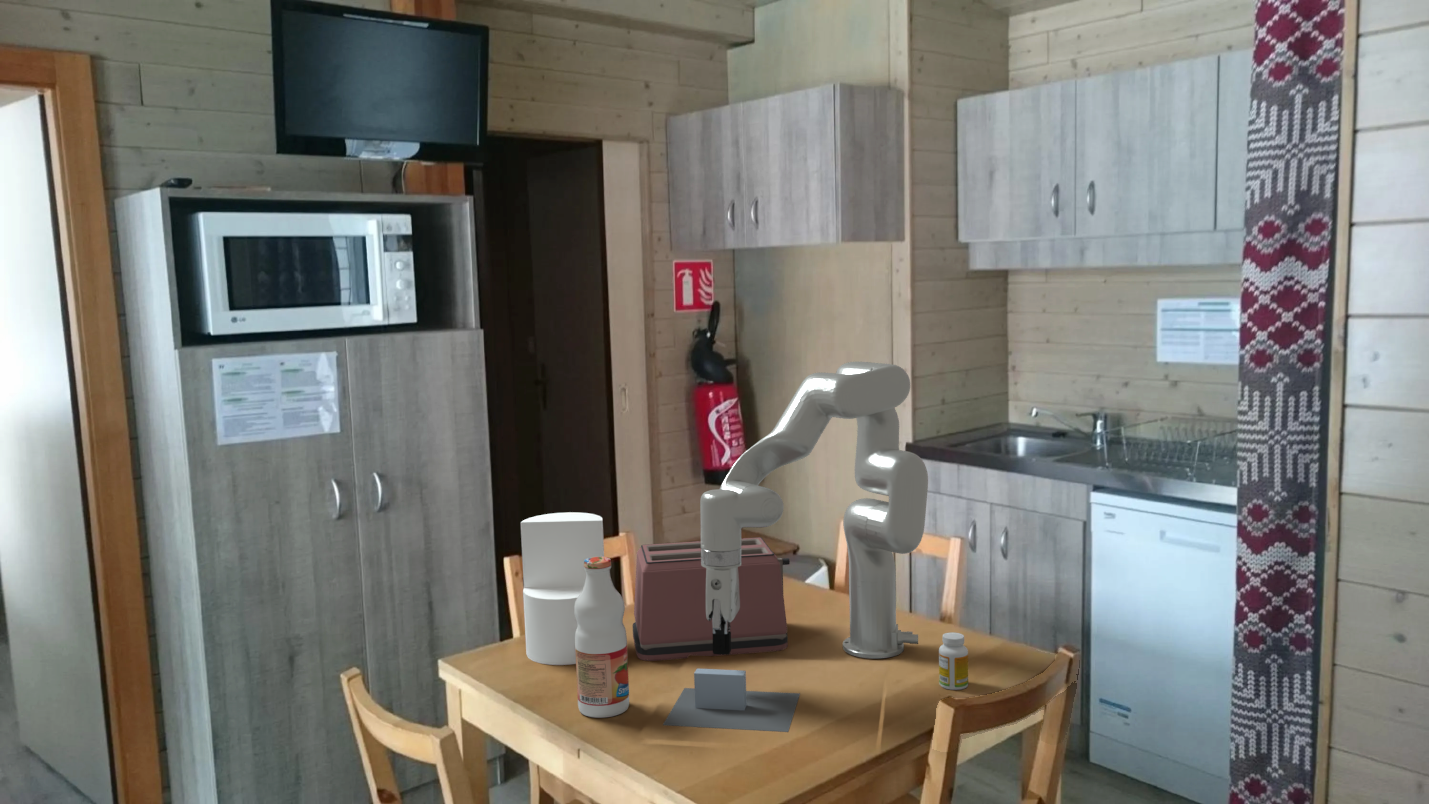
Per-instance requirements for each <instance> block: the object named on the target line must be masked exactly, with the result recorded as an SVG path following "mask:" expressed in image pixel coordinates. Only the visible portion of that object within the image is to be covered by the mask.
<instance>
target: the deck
mask: <svg viewBox="0 0 1429 804" xmlns="http://www.w3.org/2000/svg"><path fill="white" fill-rule="evenodd" d="M693 679H694V680H693V681H694V684H693V685H694V688H695V708H705V709H725V710H745V708H746V705H747V701H746V691H747V674H746V670H737V669H715V668H696V670H695V671H694V672H693Z"/></svg>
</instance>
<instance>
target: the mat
mask: <svg viewBox="0 0 1429 804" xmlns="http://www.w3.org/2000/svg"><path fill="white" fill-rule="evenodd" d="M800 695H801V693H800V692H799V693H797V692H782V691H781V692H777V691H776V692H775V691H758V690H755V691H754V690H746V701H747V705H746V708H745V710H725V709H705V708H695V687H694V688H692V687H684V688H683V690H682V691H681V692H680V694H679V696H678V698H677V700H676V701H675V704H674V705H673V707H672V708H671V710H670V712H669V713H668V715H667V717H666V718H665V720H664V722H663V724H662V726H667V727H668V726H670V727H689V728H704V729H705V728H706V729H707V728H708V729H723V730H724V729H726V730H744V731H760V732H780V733H789V731H790V727H791V725H792V722H793V718H794V714H795V711H796V708H797V705H798V702H799V699H800Z"/></svg>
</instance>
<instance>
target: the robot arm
mask: <svg viewBox="0 0 1429 804" xmlns="http://www.w3.org/2000/svg"><path fill="white" fill-rule="evenodd" d="M910 390H911V380H910V377H909V375H908V373H907V371H906V370H905V369H904V368H903V367H901V366H899V365H897V364H892V363H881V362H880V363H879V362H871V361H870V362H869V361H850V362H848V361H847V362H846V363H845V362H844V363H843V364H841V365H840V366H838V368H837V369H836V372H835V373H833V372H814V373H811V374H808V375H807V376H806V377H805V378H804V379H803V380H802V382H801V383H800V384H799V386H798V388H797V390H796V391H795V393H794V395H793V396H792V398H791V400H790V402H789V403H788V405H787V406H786V407H785V410H784V411H783V413H782V415H781V416H780V417H779V419H778V420H777V422H776V424H775V426H774V427H773V429H772V431H771V432H769V433H768V434H767V435H766V436H764V437H763V438H760V440H758V441H756V443H754V444H753V445H752V446H751V447H750V448H747V450H746V451H745V452H743V453H742V454H741V455H740V456H739V457H738V458H737V459H736V460H735V462H734V463H733V465H732V466H731V468H730V469H729V471H728V472H727V474H726V476H725V478H724V479H723V481H722V483H721V485H720V487H719V489H710V490H709V489H708V490H707V491H705V492H703V493H702V494H701V496H700V502H699V503H700V504H699V506H700V507H699V508H700V509H699V510H700V514H699V515H700V541H701V566H703V567H705V568H706V618H707V620H709V621H711V619H712V625H713V653H714V654H722V655H721V656H730V655H729V654H730V652H731V631H730V629H731V621H733V619H734V618H735V616H736V615H737V613H738V611H739V609H740V593H739V574H738V567H739V566H741V538H742V529H743V528H756V529H757V528H759V529H761V528H767V527H771V526H773V525H774V524H776V523H778V521H779V520H780V519H781V518H782V516H783V513H784V508H785V507H784V501H783V499H782V497H781V496H780V494H779V493H778V492H776V491H775V490H773V489H772V488H768V487H764V486H761V485H760V483H761V482H762V481H763V480H764V479H765V478H766V477H767V476H768V475H769V474H771V473H772V472H774V471H775V470H777V469H779V468H781V467H784V466H787V465H788V464H792V463H795V462H798V461H800V460H803V459H805V458H807V457H808V456H809V455H810V454H811V453H812V451H813V450H814V448H815V446H816V445H817V442H818V441H819V440H820V437H821V436H822V434H823V433H824V431H825V429H826V428H827V426H828V424H829V422H830V421H831V420H832V419H833V418H838V419H844V420H847V419H848V420H853V419H856V425H857V430H856V431H857V433H856V434H857V435H856V436H857V437H856V445H855V447H856V449H855V459H854V460H855V461H854V479H855V483H856V485H857V486H858V487H859V488H860V489H862V490H863V491H866V492H869V493H871V494H872V493H873V494H876V495H877V494H878V495H882V496H886V497H888V501H885V500H880V499H875V498H868V497H866V498H858V499H856V500H855V501H853V502H851V503H850V504H849V505H848V506H847V508H846V510H845V511H844V515H843V531H844V537H845V541H846V546H847V553H848V556H847V557H848V583H849V585H848V586H849V590H848V591H849V593H848V594H849V595H848V596H849V637H847V638H845V639H844V640H843V642H842V650H843V651H844V652H845V653H847V654H849V655H851V656H854V657H857V658H861V659H862V658H863V659H872V660H873V659H875V660H876V659H888V658H893V657H896V656H898V655H900V654H902V653H903V652H904V650H905V644H912V645H913V644H914V645H918V644H919V634H916V633H915V634H914V633H913V632H914V631H902V630H901V629H899V624H898V623H897V600H896V599H897V597H896V596H897V593H896V592H897V591H896V590H897V587H896V586H897V584H896V583H897V581H896V579H897V578H896V576H897V575H896V574H897V572H896V570H897V568H896V562H895V561H896V560H895V557H894V554H900V555H907V554H910V553H912V552H914V551H915V550H916V549H917V548H918V547H919V546H920V544H921V541H922V540H923V537H924V531H925V525H926V514H927V513H926V512H927V502H928V501H927V500H928V489H929V475H928V470H927V466H926V463H925V462H924V461H923V459H922V458H921V457H920V456H919V455H918V454H916V453H914V452H911V451H907V450H900V421H899V420H900V419H899V416H898V413H897V409H896V407H899V406H901V404H902V403H904V401H906V400H907V398H908V396H909V394H910V392H911V391H910ZM893 553H894V554H893Z"/></svg>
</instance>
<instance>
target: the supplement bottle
mask: <svg viewBox="0 0 1429 804" xmlns="http://www.w3.org/2000/svg"><path fill="white" fill-rule="evenodd" d="M942 643H943V644H941V645H940V646H939V648H938V684H939V686H940V687H942V688H944V689H945V690H951V691H959V690H965V689H966V688H967V687H968V686H969V650H968V648H967V647H966V646H965V645H964V644H965V635H964V634H962V633H960V632H945V633H943V634H942Z"/></svg>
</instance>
